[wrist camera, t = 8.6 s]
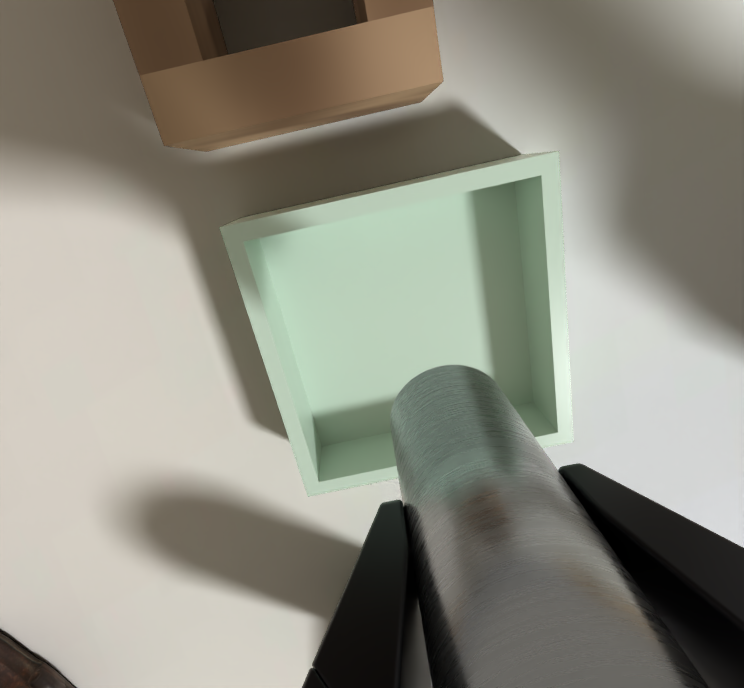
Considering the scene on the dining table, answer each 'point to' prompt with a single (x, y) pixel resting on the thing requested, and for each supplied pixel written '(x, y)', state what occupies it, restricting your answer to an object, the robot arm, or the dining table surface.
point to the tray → (407, 306)
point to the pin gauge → (514, 554)
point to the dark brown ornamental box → (26, 669)
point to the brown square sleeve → (276, 70)
